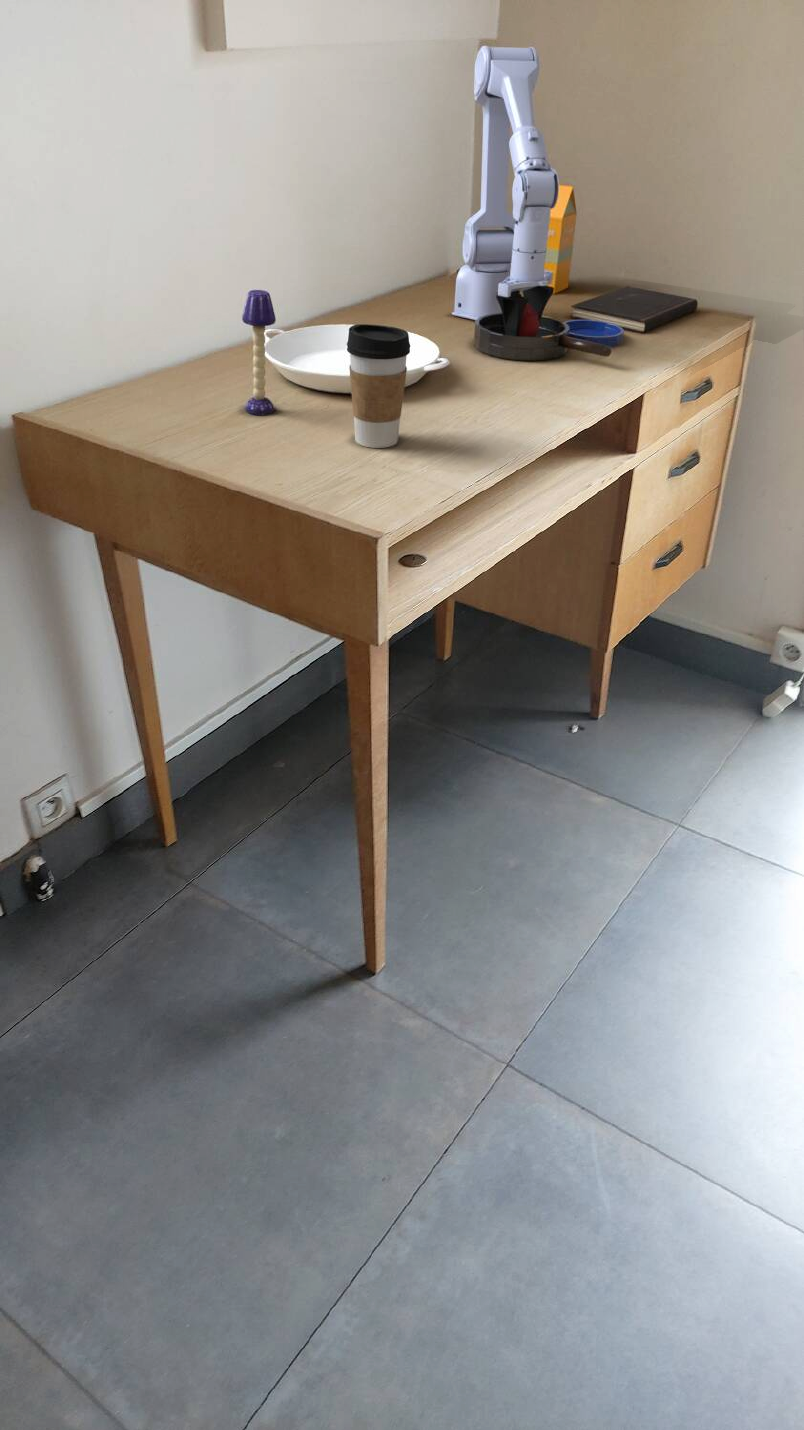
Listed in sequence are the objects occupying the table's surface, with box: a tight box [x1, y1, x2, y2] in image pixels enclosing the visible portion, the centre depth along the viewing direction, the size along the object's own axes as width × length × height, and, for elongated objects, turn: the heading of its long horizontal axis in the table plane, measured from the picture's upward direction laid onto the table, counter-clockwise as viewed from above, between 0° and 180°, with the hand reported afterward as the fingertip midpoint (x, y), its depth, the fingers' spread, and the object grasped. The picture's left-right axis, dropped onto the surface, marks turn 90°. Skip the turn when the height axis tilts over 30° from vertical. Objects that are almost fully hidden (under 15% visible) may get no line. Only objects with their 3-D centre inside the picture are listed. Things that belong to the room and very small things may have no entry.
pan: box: [264, 323, 451, 395], centre depth 169 cm, size 34×28×4 cm
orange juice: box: [544, 183, 578, 295], centre depth 218 cm, size 8×9×20 cm
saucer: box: [564, 319, 625, 348], centre depth 192 cm, size 12×12×2 cm
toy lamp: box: [241, 289, 276, 416], centre depth 149 cm, size 5×5×17 cm
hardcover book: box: [569, 285, 699, 334], centre depth 207 cm, size 16×23×2 cm
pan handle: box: [559, 336, 613, 358], centre depth 178 cm, size 10×2×2 cm, turn 52°
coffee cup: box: [347, 323, 410, 449], centre depth 141 cm, size 8×8×15 cm
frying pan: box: [473, 313, 570, 362], centre depth 184 cm, size 16×16×4 cm
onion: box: [518, 303, 539, 337], centre depth 183 cm, size 6×6×8 cm
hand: (521, 332), depth 184 cm, fingers closed on onion, 6 cm apart
